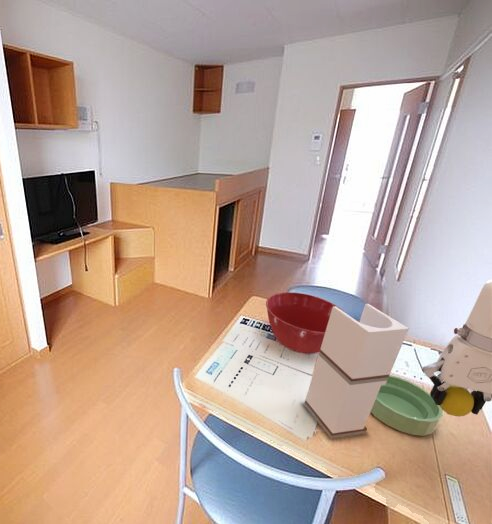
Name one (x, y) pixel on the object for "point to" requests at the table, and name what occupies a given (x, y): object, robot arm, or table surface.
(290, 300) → the mixing bowl
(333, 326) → the tall white box
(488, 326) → the robot arm
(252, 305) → the table surface
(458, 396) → the lemon
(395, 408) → the green bowl
